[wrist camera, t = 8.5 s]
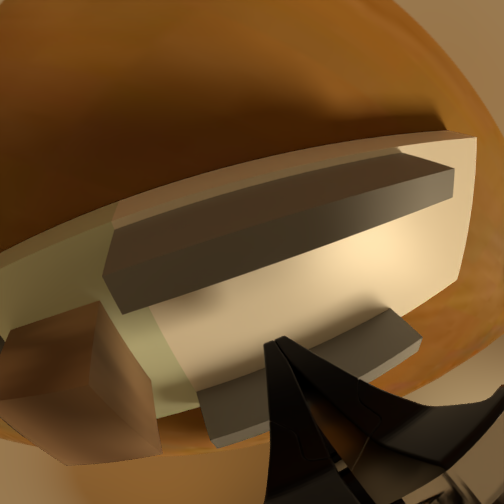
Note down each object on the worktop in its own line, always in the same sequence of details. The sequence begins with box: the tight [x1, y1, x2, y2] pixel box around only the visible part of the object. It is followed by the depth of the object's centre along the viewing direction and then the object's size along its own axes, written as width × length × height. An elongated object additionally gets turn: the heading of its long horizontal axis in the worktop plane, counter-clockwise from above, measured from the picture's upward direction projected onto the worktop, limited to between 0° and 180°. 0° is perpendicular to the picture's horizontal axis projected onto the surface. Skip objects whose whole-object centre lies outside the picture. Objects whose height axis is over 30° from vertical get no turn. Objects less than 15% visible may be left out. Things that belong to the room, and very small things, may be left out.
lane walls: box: [102, 153, 455, 449], centre depth 11 cm, size 12×10×3 cm
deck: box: [0, 130, 477, 419], centre depth 13 cm, size 28×11×2 cm, turn 100°
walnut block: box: [0, 300, 163, 466], centre depth 8 cm, size 5×5×4 cm
